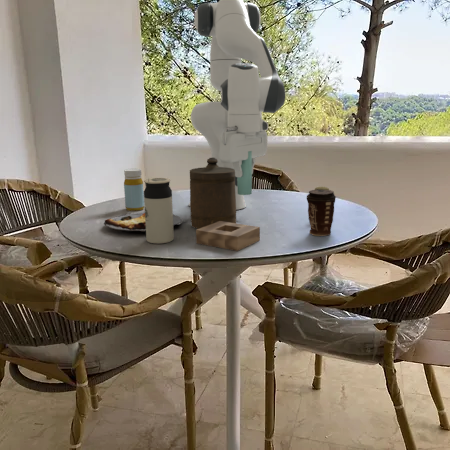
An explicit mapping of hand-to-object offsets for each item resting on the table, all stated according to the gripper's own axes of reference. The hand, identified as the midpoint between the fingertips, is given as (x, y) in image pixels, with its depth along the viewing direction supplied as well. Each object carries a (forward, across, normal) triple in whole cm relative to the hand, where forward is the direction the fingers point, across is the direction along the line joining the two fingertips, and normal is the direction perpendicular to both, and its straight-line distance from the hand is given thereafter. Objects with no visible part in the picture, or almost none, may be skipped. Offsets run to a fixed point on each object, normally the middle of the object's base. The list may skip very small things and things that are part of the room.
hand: (244, 175), depth 136 cm
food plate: (+20, -2, +38) cm, 42 cm away
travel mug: (+19, -12, +22) cm, 31 cm away
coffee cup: (+19, +18, -16) cm, 31 cm away
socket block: (+19, -3, +4) cm, 20 cm away
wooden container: (+19, +11, +18) cm, 29 cm away
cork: (+19, +36, -9) cm, 42 cm away
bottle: (+19, +16, +57) cm, 62 cm away
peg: (+5, 0, 0) cm, 5 cm away
